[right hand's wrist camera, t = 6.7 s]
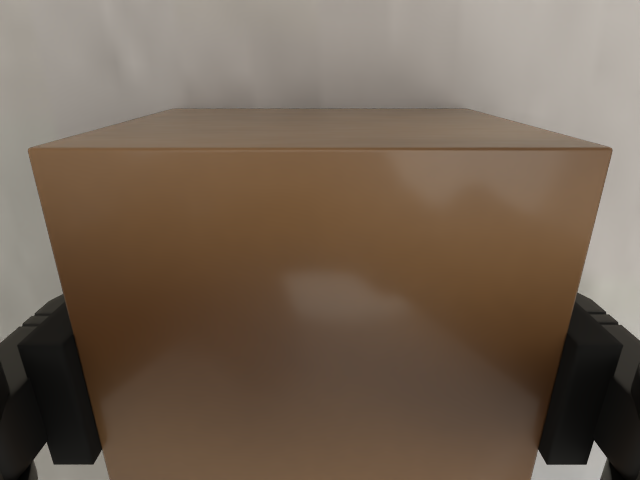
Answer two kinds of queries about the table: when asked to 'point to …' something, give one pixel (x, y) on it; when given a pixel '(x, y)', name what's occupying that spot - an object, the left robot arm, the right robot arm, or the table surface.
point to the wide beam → (320, 288)
